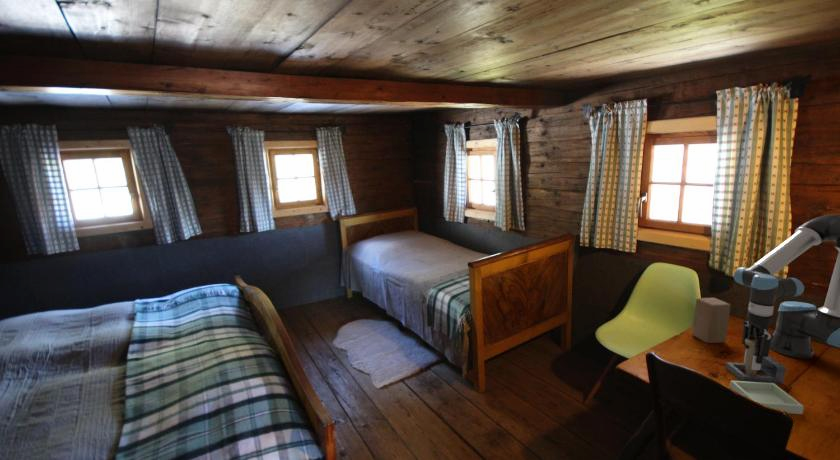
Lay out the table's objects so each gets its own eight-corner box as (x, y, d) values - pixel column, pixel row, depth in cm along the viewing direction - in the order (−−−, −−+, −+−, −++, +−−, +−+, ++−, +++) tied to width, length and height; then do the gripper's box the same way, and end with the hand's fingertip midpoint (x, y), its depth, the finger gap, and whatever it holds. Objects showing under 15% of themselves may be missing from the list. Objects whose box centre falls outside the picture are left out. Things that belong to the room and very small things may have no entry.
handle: (760, 380, 153) (766, 346, 150) (740, 375, 157) (745, 341, 154) (760, 375, 156) (765, 341, 154) (740, 370, 160) (745, 337, 158)
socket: (764, 369, 160) (767, 354, 159) (785, 385, 150) (788, 368, 149) (725, 367, 163) (727, 352, 161) (742, 382, 152) (745, 366, 151)
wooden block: (690, 334, 193) (695, 297, 189) (709, 333, 194) (714, 296, 190) (707, 344, 183) (712, 305, 179) (726, 343, 184) (732, 304, 180)
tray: (772, 390, 147) (773, 383, 146) (802, 414, 133) (803, 406, 132) (729, 387, 149) (730, 380, 148) (754, 410, 135) (755, 402, 135)
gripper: (735, 304, 160) (728, 355, 165) (765, 321, 144) (756, 377, 148) (755, 305, 159) (747, 356, 163) (787, 322, 143) (777, 378, 147)
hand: (751, 366), depth 156 cm, fingers closed on handle, 4 cm apart
